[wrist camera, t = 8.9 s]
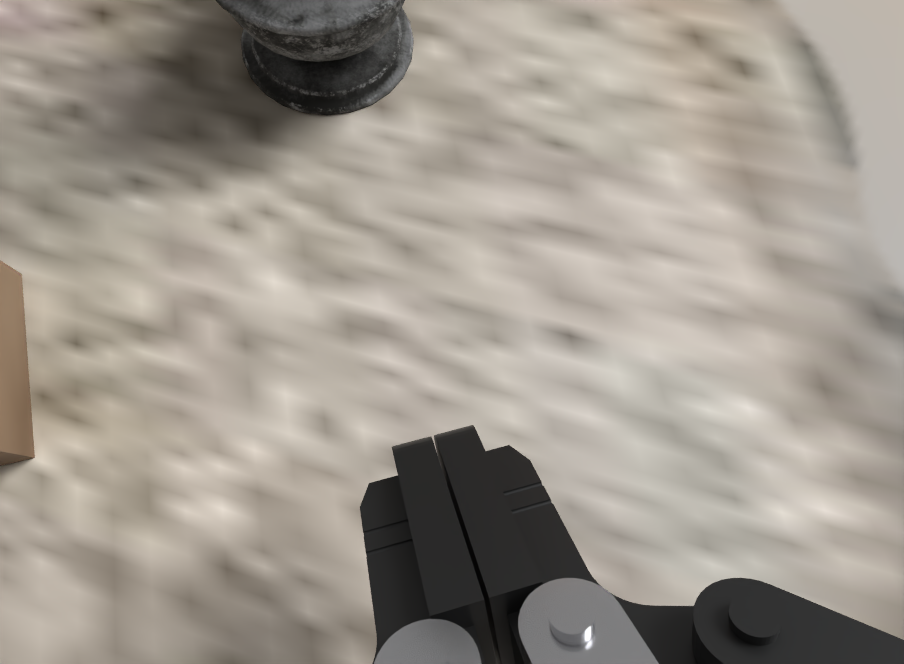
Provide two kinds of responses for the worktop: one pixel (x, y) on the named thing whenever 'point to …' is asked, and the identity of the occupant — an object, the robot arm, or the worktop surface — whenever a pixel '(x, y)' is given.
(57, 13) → the worktop surface
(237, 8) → the dark grey turned piece
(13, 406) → the walnut block
